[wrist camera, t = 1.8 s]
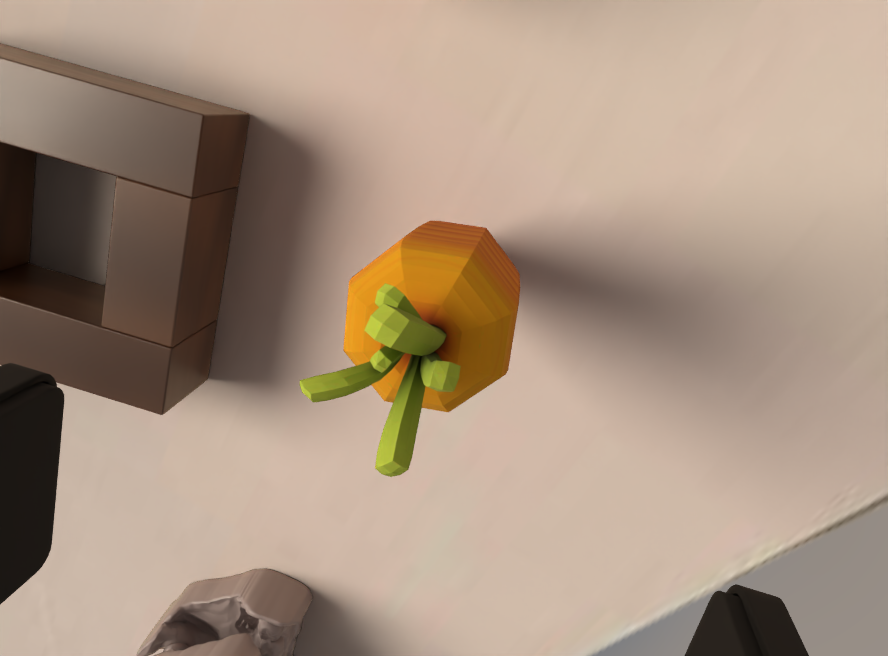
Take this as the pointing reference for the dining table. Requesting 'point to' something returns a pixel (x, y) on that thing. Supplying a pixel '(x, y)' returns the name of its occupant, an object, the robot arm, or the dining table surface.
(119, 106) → the holder
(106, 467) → the dining table surface
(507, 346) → the carrot
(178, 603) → the dental mold
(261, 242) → the dining table surface
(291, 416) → the dining table surface
